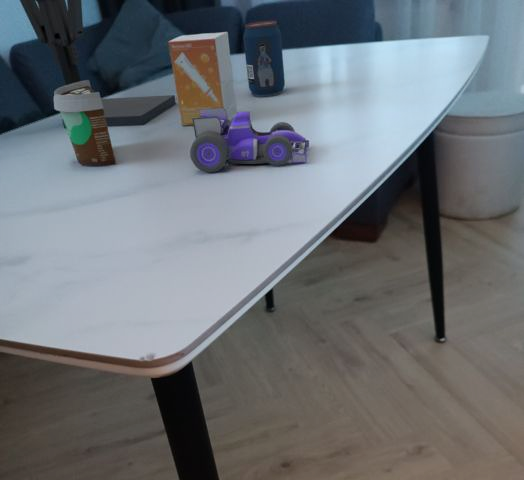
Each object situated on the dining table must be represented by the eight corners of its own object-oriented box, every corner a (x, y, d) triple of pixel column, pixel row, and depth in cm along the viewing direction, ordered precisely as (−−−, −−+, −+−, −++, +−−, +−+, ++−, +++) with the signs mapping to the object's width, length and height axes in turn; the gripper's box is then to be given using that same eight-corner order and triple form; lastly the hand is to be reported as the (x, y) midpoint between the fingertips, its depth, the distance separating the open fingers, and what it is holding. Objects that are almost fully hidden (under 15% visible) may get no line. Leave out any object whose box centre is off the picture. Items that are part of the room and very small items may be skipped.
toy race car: (306, 166, 76) (302, 114, 73) (193, 174, 79) (184, 123, 75) (309, 144, 84) (307, 96, 80) (207, 152, 86) (199, 105, 83)
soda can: (272, 87, 119) (266, 19, 112) (292, 91, 114) (287, 20, 107) (243, 94, 116) (235, 25, 109) (262, 99, 111) (254, 27, 104)
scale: (58, 128, 109) (52, 108, 107) (98, 107, 120) (93, 89, 118) (143, 125, 104) (138, 104, 102) (176, 104, 115) (172, 84, 114)
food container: (66, 154, 94) (47, 86, 88) (105, 146, 95) (88, 79, 89) (74, 175, 84) (53, 100, 78) (117, 166, 85) (99, 92, 80)
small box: (181, 126, 100) (166, 41, 93) (195, 116, 105) (182, 34, 98) (226, 125, 98) (214, 37, 91) (238, 115, 103) (228, 30, 96)
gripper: (79, -81, 94) (115, 78, 108) (10, -70, 98) (54, 83, 112) (53, -81, 89) (95, 88, 102) (-19, -69, 92) (31, 92, 106)
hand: (74, 85), depth 107 cm, fingers closed
